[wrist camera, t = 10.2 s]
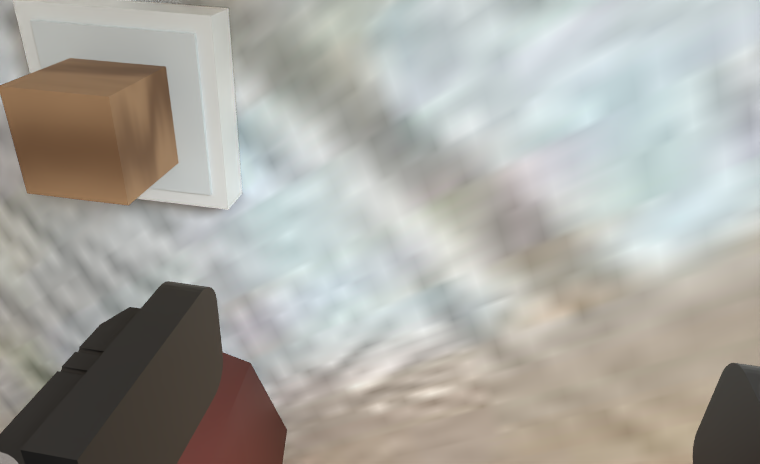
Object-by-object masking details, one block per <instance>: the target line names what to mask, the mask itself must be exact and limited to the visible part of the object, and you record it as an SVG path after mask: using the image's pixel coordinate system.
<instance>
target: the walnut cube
mask: <svg viewBox="0 0 760 464" xmlns="http://www.w3.org/2000/svg"><path fill="white" fill-rule="evenodd" d="M0 94H1V98H2V102H3V105H4V109H5V113H6V116H7V120H8V124H9V128H10V131H11V135H12V139H13V142H14V146H15V150H16V154H17V157H18V161H19V165H20V168H21V172H22V176H23V180H24V183H25V187H26V191H27V193H29V194H38V195H46V196H54V197H63V198H71V199H79V200H88V201H96V202H104V203H113V204H121V205H130V204H131V203H132V202H133V201H134V200H135V199H137V198H138V197H139V196H140V195H141V194H142V193H144V192H145V191H146V190H147V189H148V188H150V187H151V186H152V185H153V184H154V183H155V182H157V181H158V180H159V179H160V178H161V177H163V176H164V175H165V174H166V173H167V172H168V171H170V170H171V169H172V168H173V167H174V166H175V165H177V164H178V163H179V162H178V154H177V147H176V139H175V132H174V124H173V116H172V109H171V101H170V94H169V86H168V78H167V71H166V66H155V65H144V64H132V63H121V62H110V61H98V60H87V59H76V58H69V59H66V60H64V61H61V62H59V63H56V64H53V65H51V66H48V67H46V68H43V69H41V70H38V71H36V72H33V73H30V74H28V75H25V76H23V77H20V78H18V79H15V80H13V81H10V82H8V83H5V84H2V85H0Z"/></svg>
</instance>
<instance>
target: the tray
mask: <svg viewBox="0 0 760 464" xmlns="http://www.w3.org/2000/svg"><path fill="white" fill-rule="evenodd" d="M13 5H14V9H15V13H16V17H17V21H18V26H19V30H20V34H21V38H22V42H23V47H24V51H25V55H26V59H27V63H28V68H29V72H30V73H33V72H36V71H38V70H41V69H43V68H46V67H48V66H51V65H53V64H56V63H59V62H61V61H64V60H66V59H69V58H76V59H87V60H98V61H110V62H121V63H132V64H144V65H155V66H166V71H167V78H168V86H169V94H170V101H171V109H172V116H173V124H174V132H175V139H176V147H177V154H178V162H179V163H178V164H177V165H175V166H174V167H173V168H172V169H171V170H170V171H168V172H167V173H166V174H165V175H164V176H163V177H161V178H160V179H159V180H158V181H157V182H155V183H154V184H153V185H152V186H151V187H150V188H148V189H147V190H146V191H145V192H144V193H142V194H141V195H140V196H139V197H138V198H137V199H144V200H152V201H160V202H169V203H177V204H185V205H193V206H202V207H210V208H218V209H226V210H229V208H230V207H231V206H232V205H233V204H234V203H235V201H236V200H237V199H238V198H239V197H240V196H241V194H242V181H241V167H240V154H239V141H238V127H237V114H236V101H235V87H234V74H233V61H232V47H231V34H230V20H229V8H221V7H208V6H195V5H182V4H169V3H156V2H143V1H131V0H13Z"/></svg>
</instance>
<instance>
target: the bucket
mask: <svg viewBox="0 0 760 464" xmlns="http://www.w3.org/2000/svg"><path fill="white" fill-rule="evenodd" d="M222 354H223V370H222V376H221V380H220V384H219V387H218V390H217V392H216V395H215V397H214V399H213V400H212V402H211V404H210V406H209V408H208V409H207V411H206V413H205V415H204V416H203V418H202V420H201V422H200V424H199V425H198V427H197V429H196V431H195V432H194V434H193V436H192V438H191V440H190V441H189V443H188V445H187V447H186V448H185V450H184V452H183V454H182V456H181V457H180V459H179V461H178V463H177V464H282V462H283V455H284V447H285V440H286V433H287V429H286V427H285V426H284V424H283V422H282V420H281V418H280V416H279V415H278V413H277V411H276V409H275V407H274V405H273V404H272V402H271V400H270V398H269V396H268V394H267V392H266V391H265V389H264V387H263V385H262V383H261V381H260V380H259V378H258V376H257V374H256V372H255V370H254V369H253V367H252V365H251V363H249V362H246V361H244V360H241V359H238V358H236V357H233V356H231V355H228V354H225V353H223V352H222Z"/></svg>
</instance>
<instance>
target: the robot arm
mask: <svg viewBox="0 0 760 464" xmlns="http://www.w3.org/2000/svg"><path fill="white" fill-rule="evenodd" d="M79 348H80V349H79V352H75V353H74V354H73V355H72V356H71V357H70V358H69V359H68V361H67V362H66V363H65V364H64V365H63V366H62V370H61V372H58V371H57V373H56V374H55V375H54V376H53V377H52V378H51V379H50V380H49V381H48V382H47V383H46V385H45V386H44V387H43V388H42V389H41V390H40V391H39V392H38V393H37V394H36V395H35V397H34V398H33V399H32V400H31V401H30V402H29V403H28V404H27V405H26V406H25V407H24V409H23V410H22V411H21V412H20V413H19V414H18V415H17V416H16V417H15V418H14V419H13V421H12V422H11V423H10V424H9V425H8V426H7V427H6V428H5V429H4V430H3V432H2V433H1V434H0V464H177V463H178V461H179V459H180V457H181V456H182V454H183V452H184V450H185V448H186V447H187V445H188V443H189V441H190V440H191V438H192V436H193V434H194V432H195V431H196V429H197V427H198V425H199V424H200V422H201V420H202V418H203V416H204V415H205V413H206V411H207V409H208V408H209V406H210V404H211V402H212V400H213V399H214V397H215V395H216V392H217V390H218V387H219V384H220V380H221V376H222V370H223V354H222V344H221V335H220V326H219V316H218V307H217V299H216V294H215V292H214V290H213V289H212V288H210V287H204V286H197V285H190V284H183V283H176V282H165V283H163V284H162V285H161V286H160V287H159V288H158V289H157V290H156V291H155V293H154V294H153V295H152V296H151V297H150V298H149V300H148V301H147V302H146V303H145V304H144V305H143V307H142V308H141V309H139V308H132V307H129V308H127V309H126V310H124V311H122V312H121V313H119V314H117V315H116V316H114V317H112V318H111V319H109V320H107V321H106V322H104V323H102V324H101V325H100V326H99V327H98V328H97V329H96V330H95V331H94V332H93V333H92V334H91V335H90V336H89V338H88V339H87V340H86V341H85V342H84V343H83V344H82V345H81V346H80V347H79ZM693 464H760V367H759V366H752V365H745V364H738V363H731V364H729V365H728V366H726V368H725V369H724V370H723V372H722V374H721V377H720V379H719V381H718V384H717V386H716V388H715V391H714V393H713V395H712V398H711V400H710V402H709V405H708V407H707V410H706V412H705V414H704V417H703V419H702V421H701V424H700V426H699V428H698V431H697V433H696V436H695V440H694V446H693Z"/></svg>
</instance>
